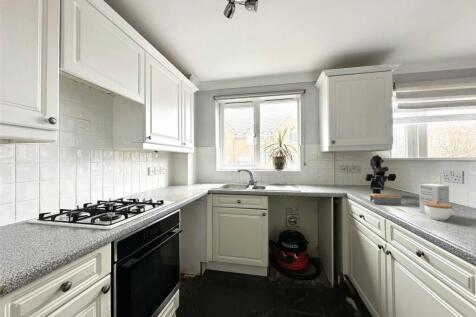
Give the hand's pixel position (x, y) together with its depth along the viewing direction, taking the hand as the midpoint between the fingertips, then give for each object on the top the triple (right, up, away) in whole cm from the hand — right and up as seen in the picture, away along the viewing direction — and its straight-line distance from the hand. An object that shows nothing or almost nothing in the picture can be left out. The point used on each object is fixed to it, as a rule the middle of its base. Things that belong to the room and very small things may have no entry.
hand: (383, 186), depth 147 cm
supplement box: (+7, -12, -30) cm, 33 cm away
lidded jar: (0, -12, -40) cm, 41 cm away
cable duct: (-1, -12, -3) cm, 12 cm away
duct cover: (-1, -7, -3) cm, 7 cm away
